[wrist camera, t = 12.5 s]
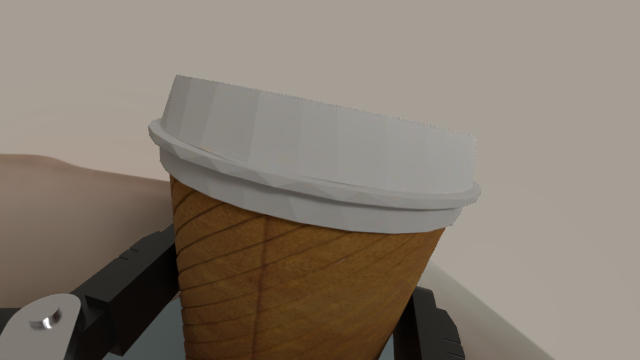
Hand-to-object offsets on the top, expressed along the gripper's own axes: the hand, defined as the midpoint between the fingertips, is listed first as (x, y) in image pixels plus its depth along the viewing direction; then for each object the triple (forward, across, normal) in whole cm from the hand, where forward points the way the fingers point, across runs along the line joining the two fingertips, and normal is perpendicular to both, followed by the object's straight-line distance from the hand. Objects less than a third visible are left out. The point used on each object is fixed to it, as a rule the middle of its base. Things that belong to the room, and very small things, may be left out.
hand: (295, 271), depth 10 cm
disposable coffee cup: (-1, 0, +6) cm, 6 cm away
